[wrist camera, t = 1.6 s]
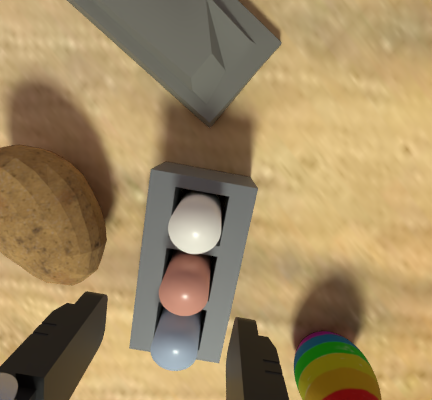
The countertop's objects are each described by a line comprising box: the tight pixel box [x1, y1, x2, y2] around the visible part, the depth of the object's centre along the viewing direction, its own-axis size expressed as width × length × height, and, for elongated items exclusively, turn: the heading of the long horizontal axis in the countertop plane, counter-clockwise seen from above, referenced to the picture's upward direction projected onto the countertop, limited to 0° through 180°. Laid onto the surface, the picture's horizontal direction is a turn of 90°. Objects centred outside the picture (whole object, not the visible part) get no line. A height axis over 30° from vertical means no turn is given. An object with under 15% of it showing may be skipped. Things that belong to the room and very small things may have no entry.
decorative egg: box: [294, 331, 381, 400], centre depth 28 cm, size 8×8×10 cm
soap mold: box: [67, 0, 281, 128], centre depth 24 cm, size 10×20×4 cm, turn 49°
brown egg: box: [159, 249, 211, 316], centre depth 24 cm, size 4×4×6 cm
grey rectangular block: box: [129, 162, 258, 363], centre depth 27 cm, size 18×9×6 cm, turn 170°
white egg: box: [168, 190, 221, 254], centre depth 23 cm, size 4×4×6 cm
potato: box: [0, 145, 107, 285], centre depth 26 cm, size 10×14×8 cm
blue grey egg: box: [151, 307, 202, 371], centre depth 26 cm, size 4×4×6 cm
